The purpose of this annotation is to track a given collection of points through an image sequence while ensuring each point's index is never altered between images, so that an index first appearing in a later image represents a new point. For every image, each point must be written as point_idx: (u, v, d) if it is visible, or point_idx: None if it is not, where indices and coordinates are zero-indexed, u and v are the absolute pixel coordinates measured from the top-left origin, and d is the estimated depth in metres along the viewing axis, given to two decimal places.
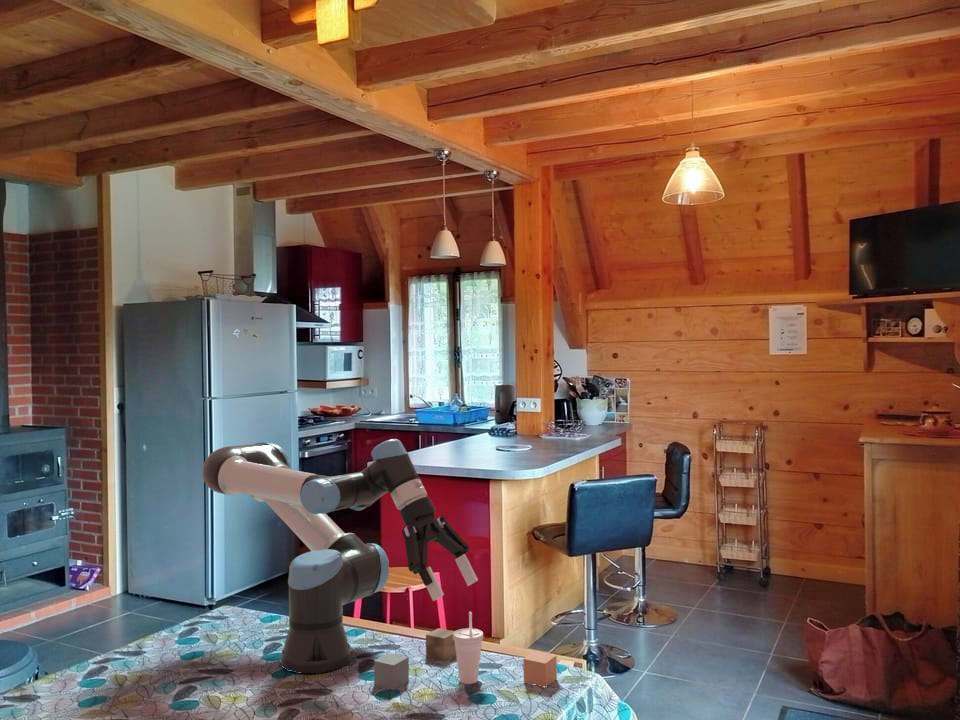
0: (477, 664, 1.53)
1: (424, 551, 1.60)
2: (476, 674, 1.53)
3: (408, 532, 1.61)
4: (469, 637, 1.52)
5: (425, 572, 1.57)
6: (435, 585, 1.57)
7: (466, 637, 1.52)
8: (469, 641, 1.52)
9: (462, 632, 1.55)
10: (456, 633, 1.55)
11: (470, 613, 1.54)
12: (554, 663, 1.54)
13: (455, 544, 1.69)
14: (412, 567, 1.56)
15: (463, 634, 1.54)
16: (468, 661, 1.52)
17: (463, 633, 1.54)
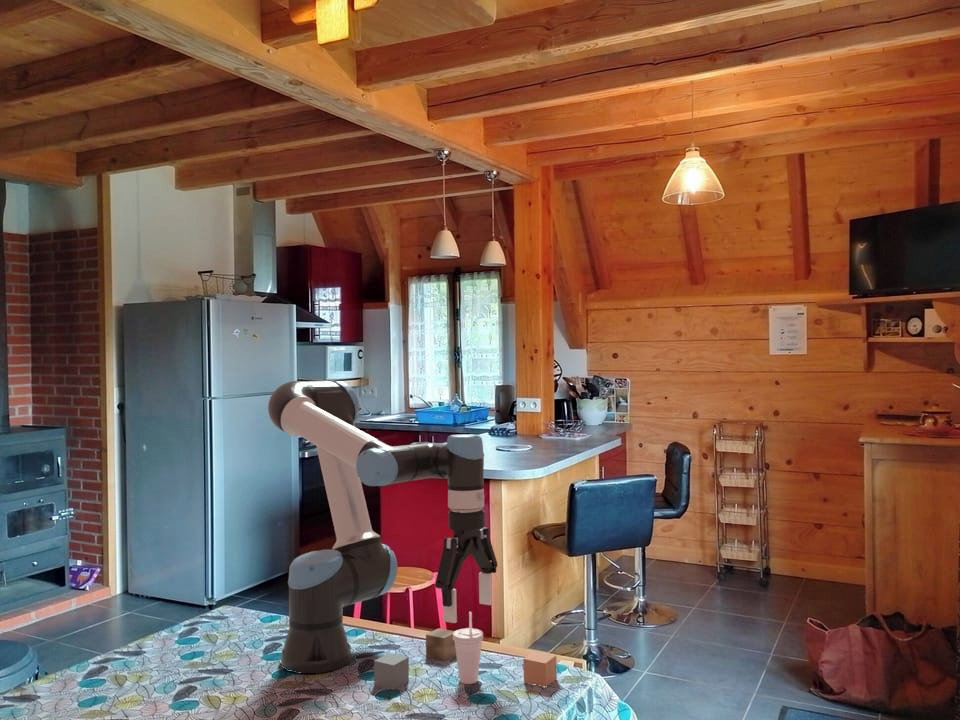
0: (477, 664, 1.53)
1: (457, 571, 1.49)
2: (476, 674, 1.53)
3: (450, 546, 1.49)
4: (469, 637, 1.52)
5: (449, 594, 1.48)
6: (452, 610, 1.48)
7: (466, 637, 1.52)
8: (469, 641, 1.52)
9: (462, 632, 1.55)
10: (456, 633, 1.55)
11: (470, 613, 1.54)
12: (554, 663, 1.54)
13: (486, 562, 1.59)
14: (439, 586, 1.46)
15: (463, 634, 1.54)
16: (468, 661, 1.52)
17: (463, 633, 1.54)
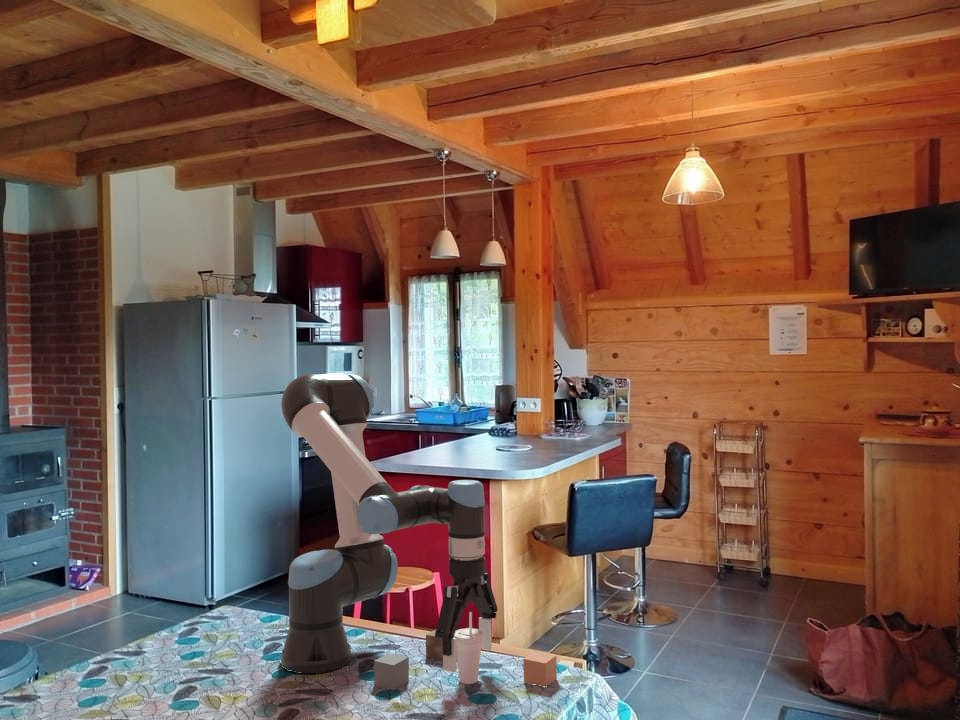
0: (477, 664, 1.53)
1: (457, 619, 1.49)
2: (476, 674, 1.53)
3: (450, 595, 1.49)
4: (469, 637, 1.52)
5: (449, 643, 1.47)
6: (452, 659, 1.48)
7: (466, 637, 1.52)
8: (469, 641, 1.52)
9: (462, 632, 1.55)
10: (456, 633, 1.55)
11: (470, 613, 1.54)
12: (554, 663, 1.54)
13: (487, 608, 1.59)
14: (439, 635, 1.46)
15: (463, 634, 1.54)
16: (468, 661, 1.52)
17: (463, 633, 1.54)
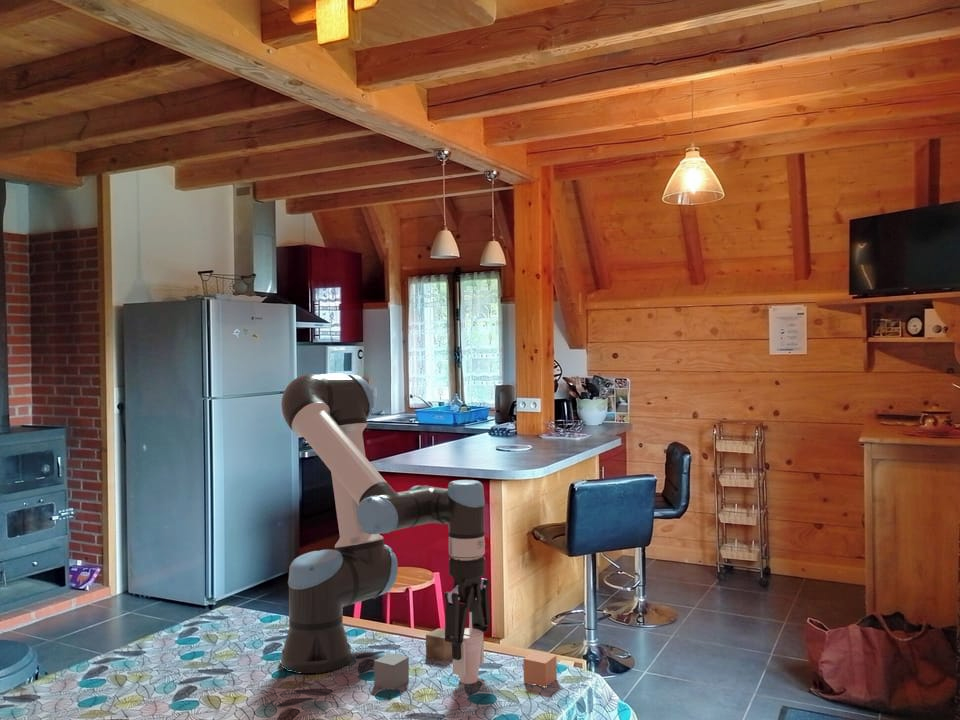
0: (477, 664, 1.53)
1: (463, 623, 1.51)
2: (476, 674, 1.53)
3: (452, 601, 1.49)
4: (469, 637, 1.52)
5: (458, 647, 1.50)
6: (462, 663, 1.51)
7: (466, 637, 1.52)
8: (469, 641, 1.52)
9: None
10: None
11: (470, 613, 1.54)
12: (554, 663, 1.54)
13: (481, 617, 1.57)
14: (449, 641, 1.49)
15: None
16: (468, 661, 1.52)
17: None
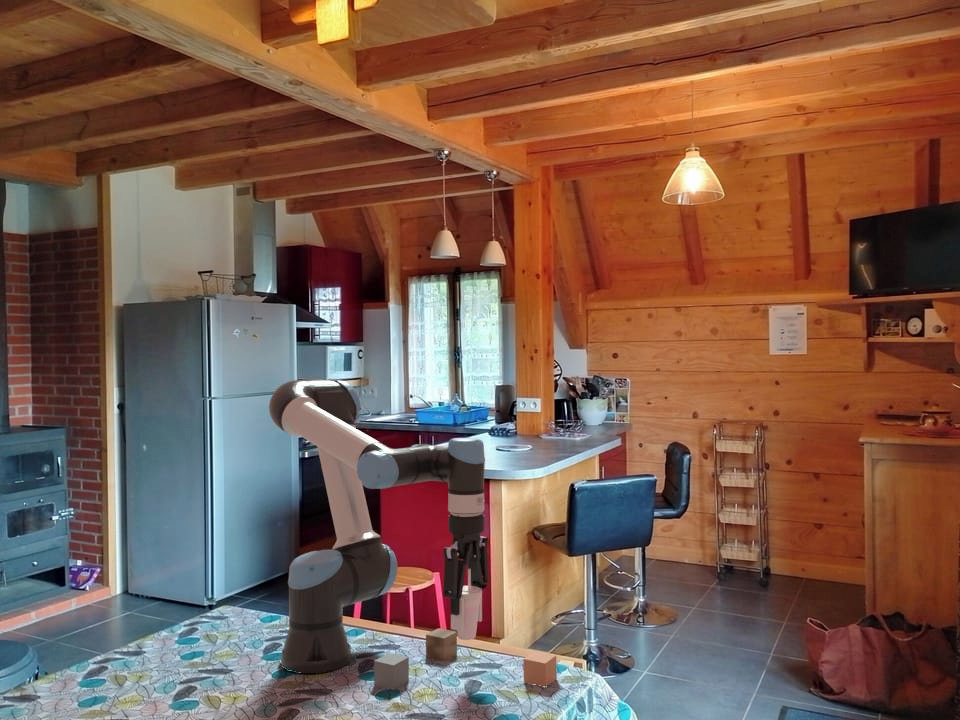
0: (475, 620, 1.54)
1: (461, 579, 1.51)
2: (474, 630, 1.54)
3: (451, 556, 1.49)
4: (467, 593, 1.53)
5: (457, 603, 1.51)
6: (460, 618, 1.51)
7: (465, 593, 1.53)
8: (467, 597, 1.52)
9: None
10: None
11: (469, 570, 1.55)
12: (554, 663, 1.54)
13: (479, 574, 1.57)
14: (447, 596, 1.49)
15: (462, 590, 1.54)
16: (467, 617, 1.52)
17: (462, 590, 1.55)
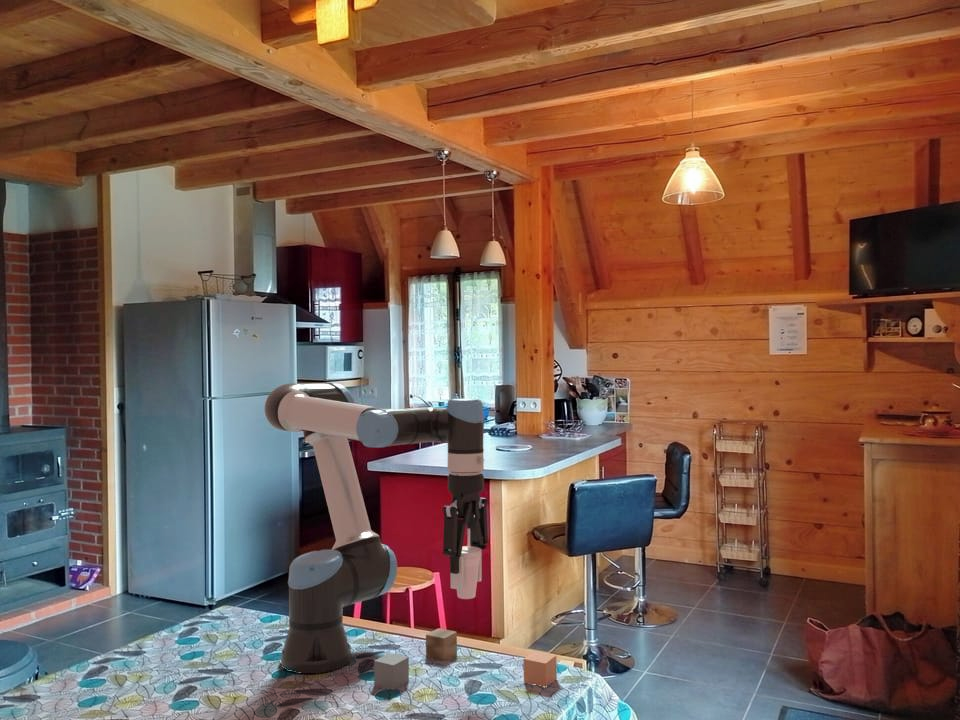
0: (475, 580, 1.54)
1: (461, 537, 1.52)
2: (474, 590, 1.54)
3: (450, 515, 1.50)
4: (467, 552, 1.53)
5: (456, 561, 1.51)
6: (460, 577, 1.51)
7: (464, 552, 1.53)
8: (467, 556, 1.52)
9: None
10: None
11: (468, 529, 1.55)
12: (554, 663, 1.54)
13: (479, 535, 1.57)
14: (447, 554, 1.50)
15: None
16: (466, 576, 1.53)
17: None
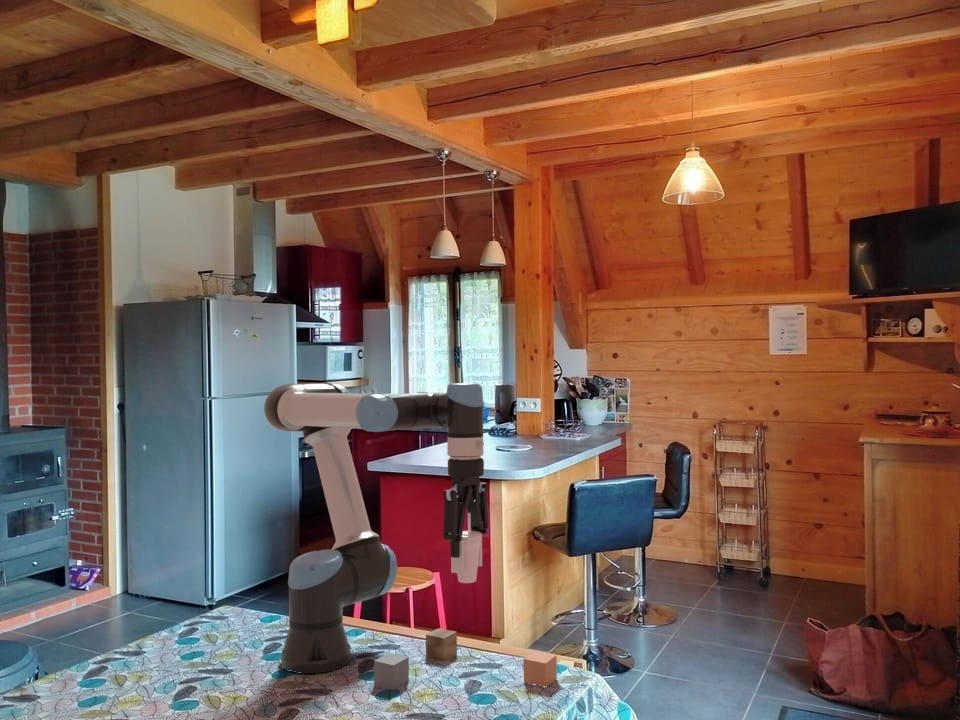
0: (476, 564, 1.54)
1: (461, 521, 1.52)
2: (475, 574, 1.54)
3: (450, 498, 1.50)
4: (467, 536, 1.53)
5: (457, 545, 1.51)
6: (460, 561, 1.51)
7: (465, 536, 1.53)
8: (468, 540, 1.52)
9: None
10: None
11: (469, 514, 1.55)
12: (554, 663, 1.54)
13: (479, 519, 1.57)
14: (447, 538, 1.50)
15: (462, 534, 1.54)
16: (467, 560, 1.53)
17: (462, 533, 1.55)
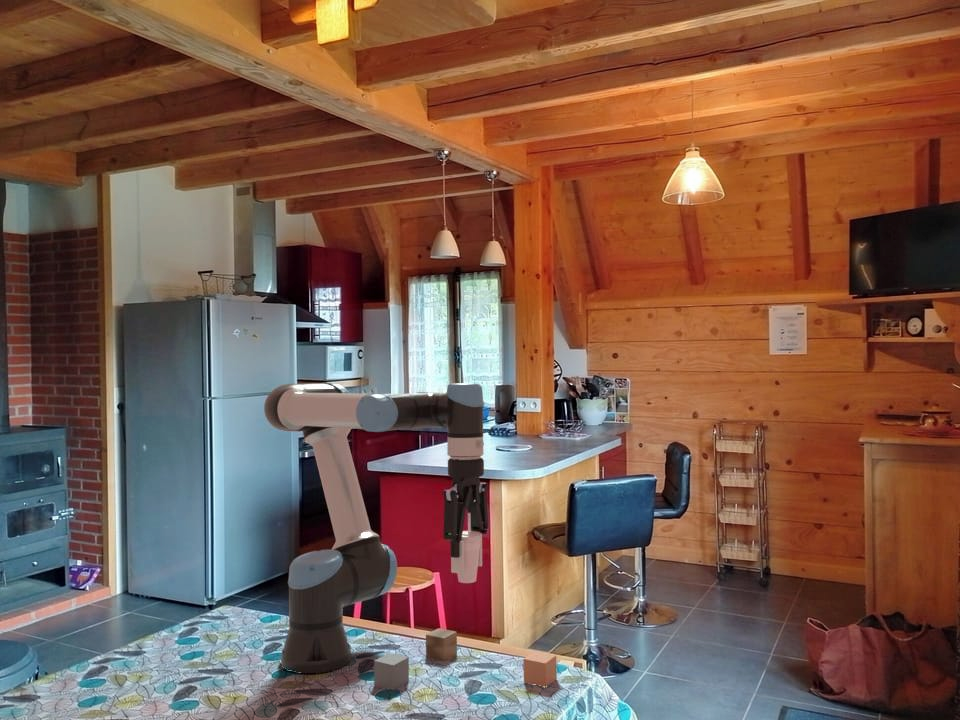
0: (476, 564, 1.54)
1: (461, 521, 1.52)
2: (475, 574, 1.54)
3: (450, 498, 1.50)
4: (467, 536, 1.53)
5: (457, 545, 1.51)
6: (460, 561, 1.51)
7: (465, 536, 1.53)
8: (468, 540, 1.52)
9: None
10: None
11: (469, 514, 1.55)
12: (554, 663, 1.54)
13: (479, 519, 1.57)
14: (447, 538, 1.50)
15: (462, 534, 1.54)
16: (467, 560, 1.53)
17: (462, 533, 1.55)
